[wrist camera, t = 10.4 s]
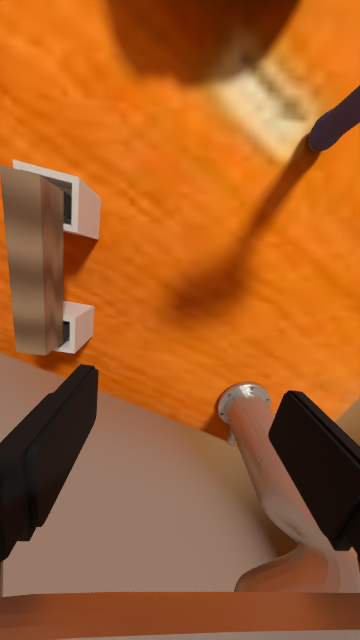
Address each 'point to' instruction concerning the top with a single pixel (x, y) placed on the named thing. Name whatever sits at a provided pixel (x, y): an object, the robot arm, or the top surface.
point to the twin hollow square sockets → (80, 224)
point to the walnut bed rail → (35, 258)
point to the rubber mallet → (335, 123)
